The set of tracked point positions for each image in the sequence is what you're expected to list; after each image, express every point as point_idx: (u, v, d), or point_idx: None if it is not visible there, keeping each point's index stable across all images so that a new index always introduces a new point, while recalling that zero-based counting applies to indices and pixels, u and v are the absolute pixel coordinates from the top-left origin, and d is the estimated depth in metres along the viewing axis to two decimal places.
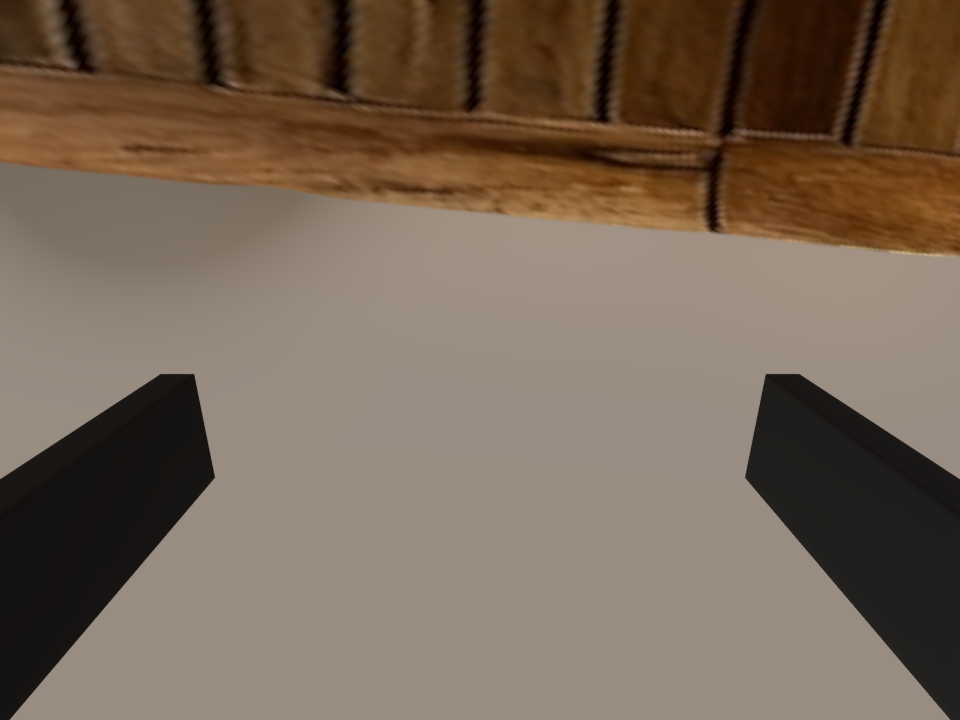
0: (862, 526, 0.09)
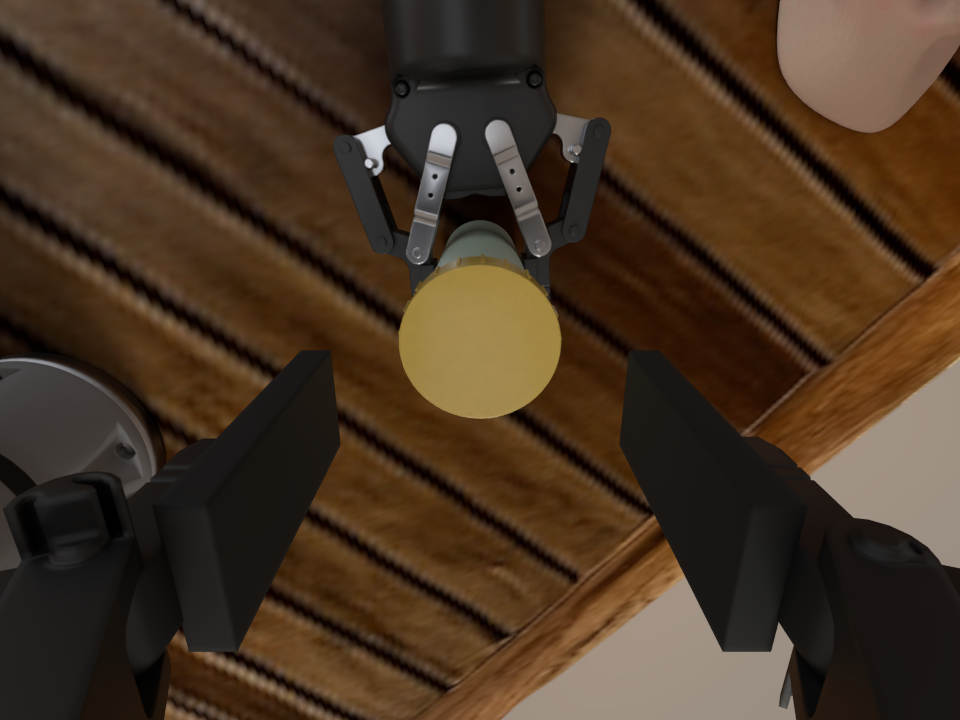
0: (672, 473, 0.10)
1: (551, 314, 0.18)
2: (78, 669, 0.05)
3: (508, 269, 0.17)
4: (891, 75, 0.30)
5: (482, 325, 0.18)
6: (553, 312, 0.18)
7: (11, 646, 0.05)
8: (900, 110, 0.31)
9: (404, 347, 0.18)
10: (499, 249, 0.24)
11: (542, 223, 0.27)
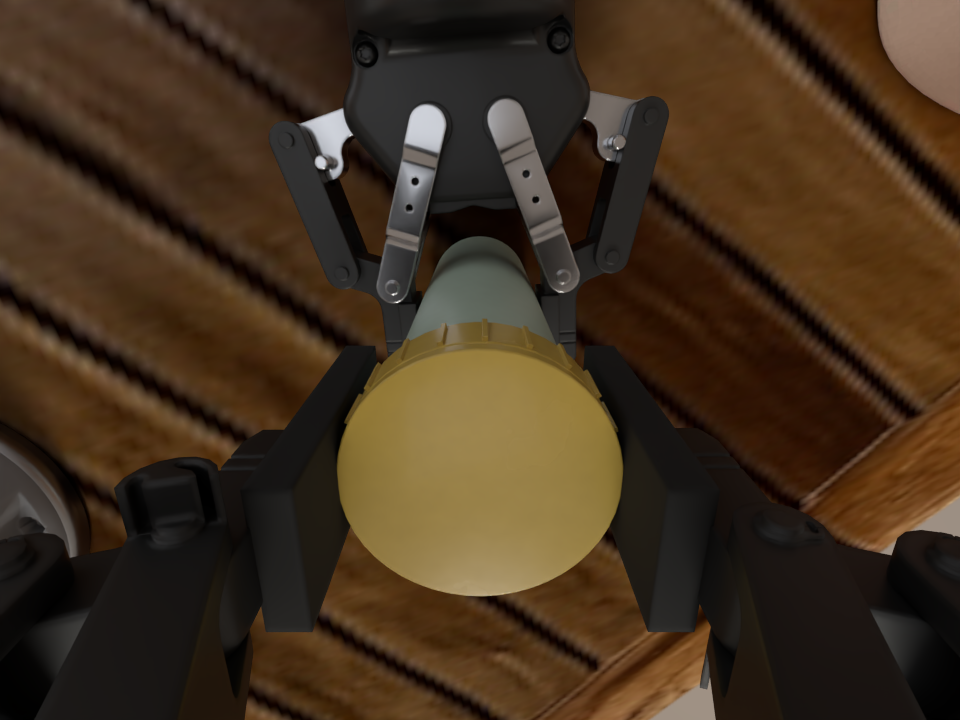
0: None
1: (608, 433, 0.10)
2: (181, 647, 0.05)
3: (532, 356, 0.09)
4: None
5: (484, 451, 0.10)
6: (612, 430, 0.10)
7: (122, 619, 0.06)
8: None
9: (346, 487, 0.10)
10: (508, 290, 0.16)
11: (567, 247, 0.19)
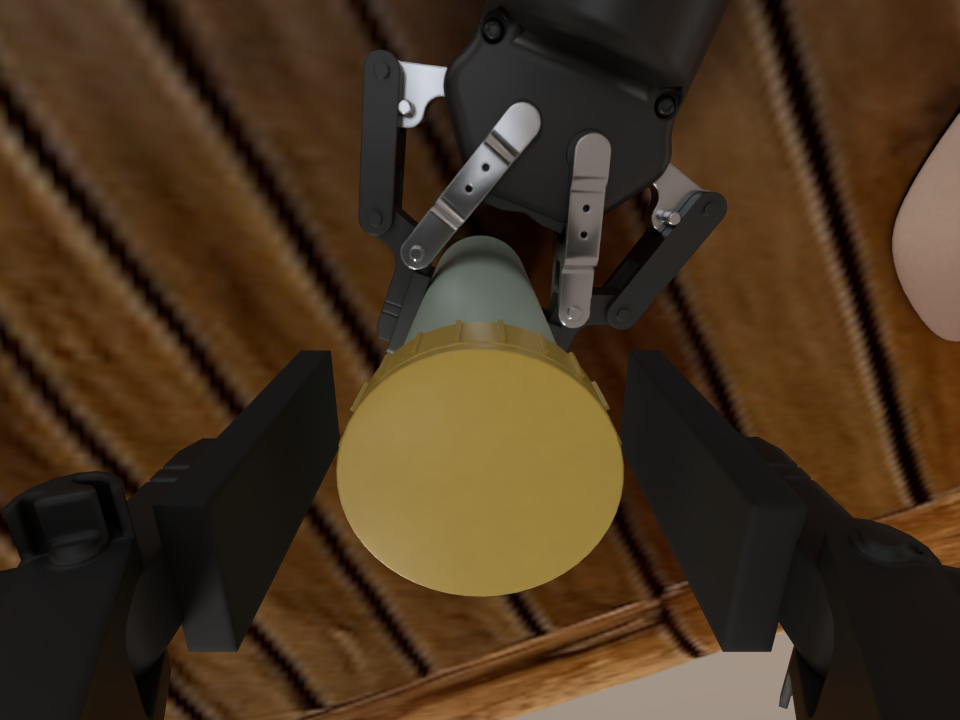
0: (672, 474, 0.10)
1: (531, 364, 0.09)
2: (78, 669, 0.05)
3: (413, 362, 0.09)
4: None
5: (456, 458, 0.10)
6: (531, 359, 0.09)
7: (12, 646, 0.05)
8: None
9: (393, 562, 0.11)
10: (535, 306, 0.16)
11: (589, 288, 0.20)
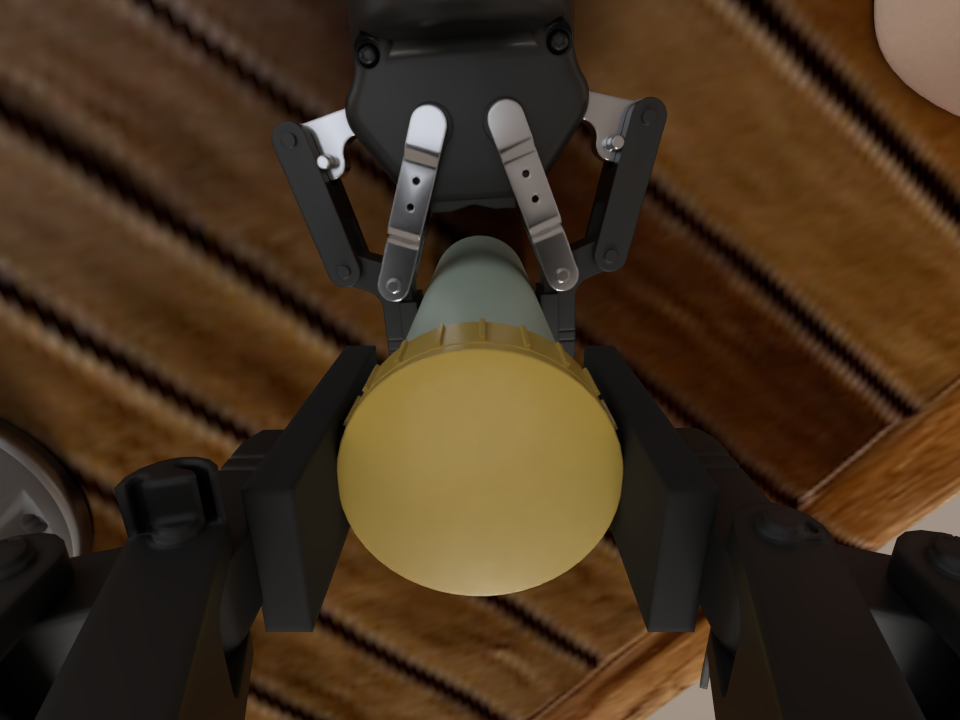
0: None
1: (468, 356, 0.09)
2: (180, 647, 0.05)
3: (364, 398, 0.10)
4: None
5: (446, 469, 0.10)
6: (466, 351, 0.09)
7: (121, 619, 0.06)
8: None
9: (439, 584, 0.11)
10: (508, 288, 0.16)
11: (566, 246, 0.19)
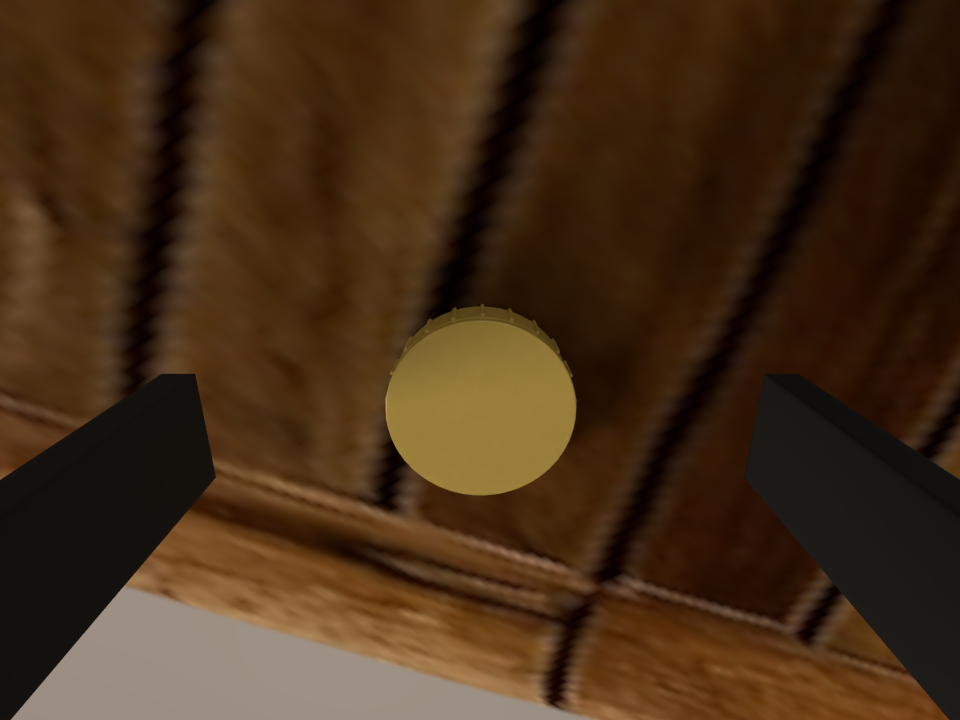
0: (861, 526, 0.09)
1: (473, 325, 0.14)
2: None
3: (405, 354, 0.15)
4: None
5: (458, 402, 0.15)
6: (472, 322, 0.14)
7: None
8: None
9: (453, 486, 0.16)
10: None
11: None
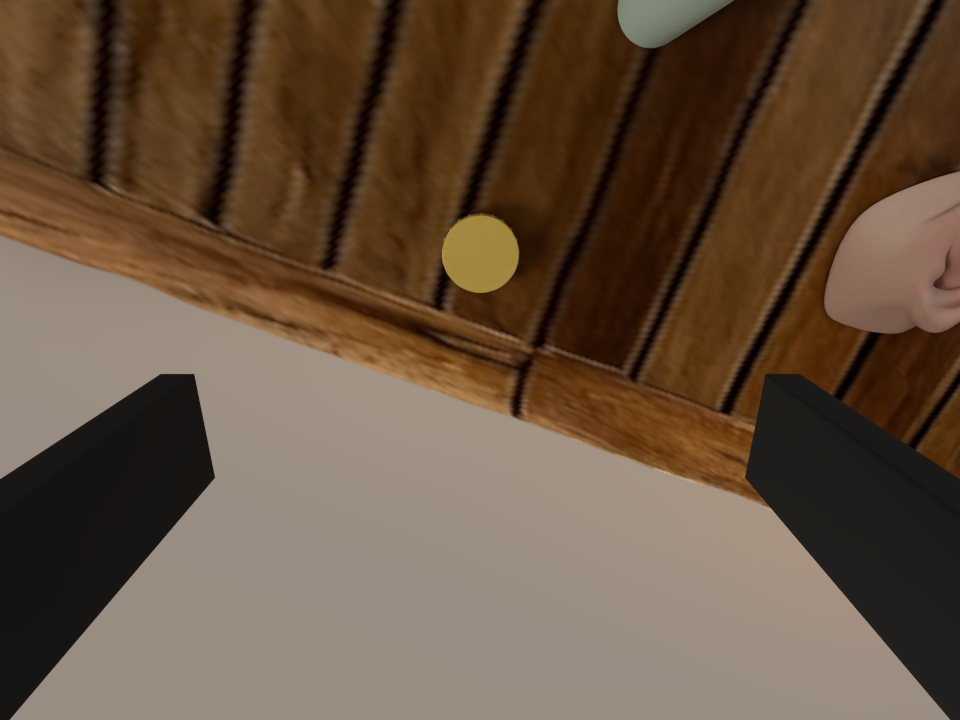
0: (862, 526, 0.09)
1: (477, 217, 0.37)
2: None
3: (450, 229, 0.37)
4: (876, 291, 0.39)
5: (471, 250, 0.38)
6: (477, 216, 0.37)
7: None
8: (847, 316, 0.40)
9: (469, 288, 0.39)
10: None
11: None
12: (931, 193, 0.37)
